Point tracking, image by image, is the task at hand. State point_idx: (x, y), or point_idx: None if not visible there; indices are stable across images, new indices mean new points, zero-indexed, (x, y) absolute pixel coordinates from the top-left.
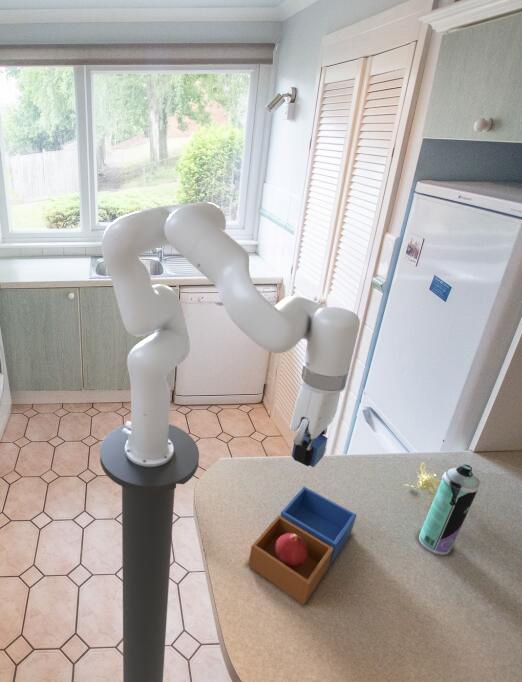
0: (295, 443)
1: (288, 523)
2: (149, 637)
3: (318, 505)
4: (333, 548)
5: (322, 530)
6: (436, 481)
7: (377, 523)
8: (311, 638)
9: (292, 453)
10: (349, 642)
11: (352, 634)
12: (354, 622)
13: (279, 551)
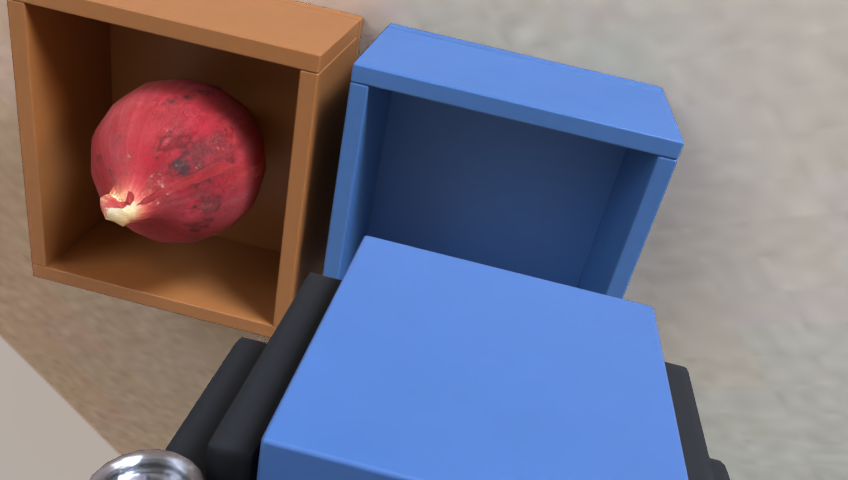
0: (92, 475)
1: (294, 125)
2: None
3: (617, 218)
4: None
5: (514, 229)
6: None
7: (704, 418)
8: (23, 252)
9: (352, 264)
10: (101, 348)
11: (132, 354)
12: (175, 357)
13: (101, 122)
